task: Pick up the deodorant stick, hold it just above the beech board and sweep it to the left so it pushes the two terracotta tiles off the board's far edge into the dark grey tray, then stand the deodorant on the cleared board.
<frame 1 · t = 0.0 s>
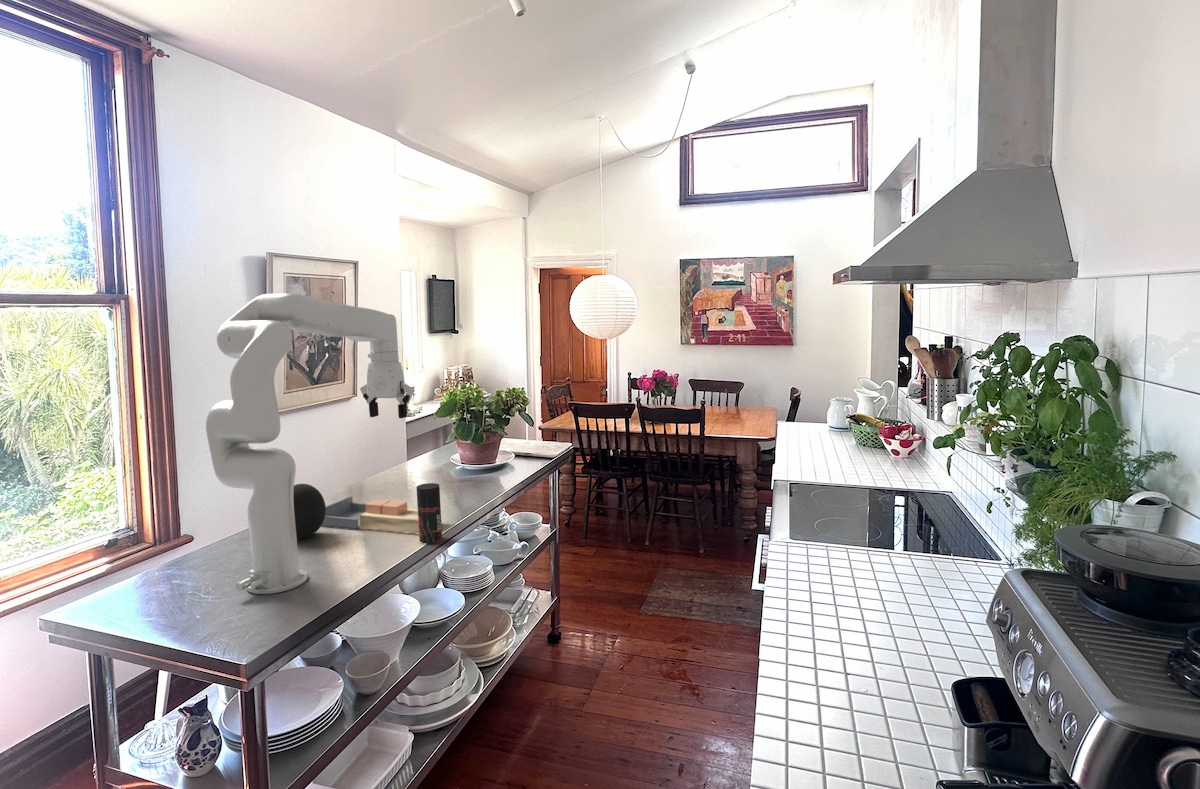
hand: (388, 417, 189), 31 cm above the table, tool pointing down, fingers open, 9 cm apart
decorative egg: (303, 537, 182), on the table
tray: (353, 520, 196), on the table
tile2: (378, 510, 191), point 4 cm above the table, touching board
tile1: (394, 512, 190), point 4 cm above the table, touching board
board: (400, 526, 190), on the table
deodorant: (431, 540, 177), on the table
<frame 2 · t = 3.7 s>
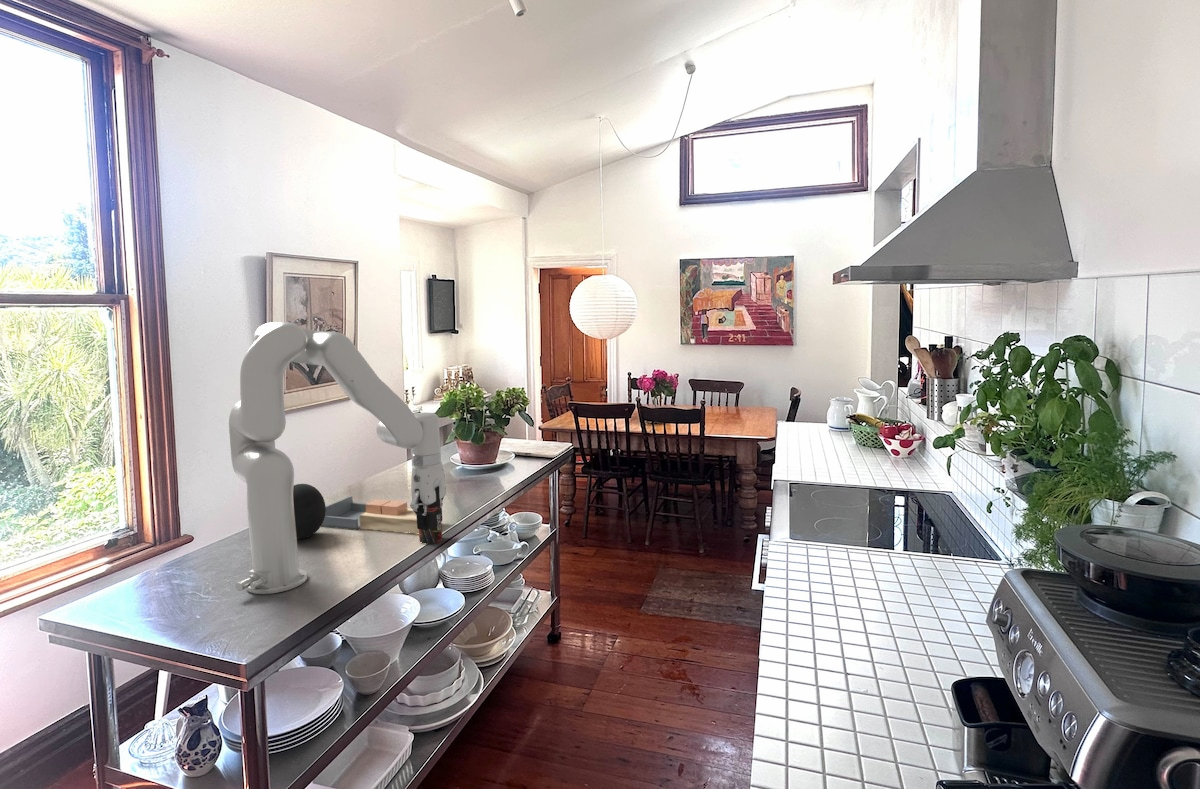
hand: (430, 524, 177), 4 cm above the table, tool pointing down, fingers closed on deodorant, 5 cm apart
deodorant: (431, 540, 177), on the table, touching gripper
everything else where it was.
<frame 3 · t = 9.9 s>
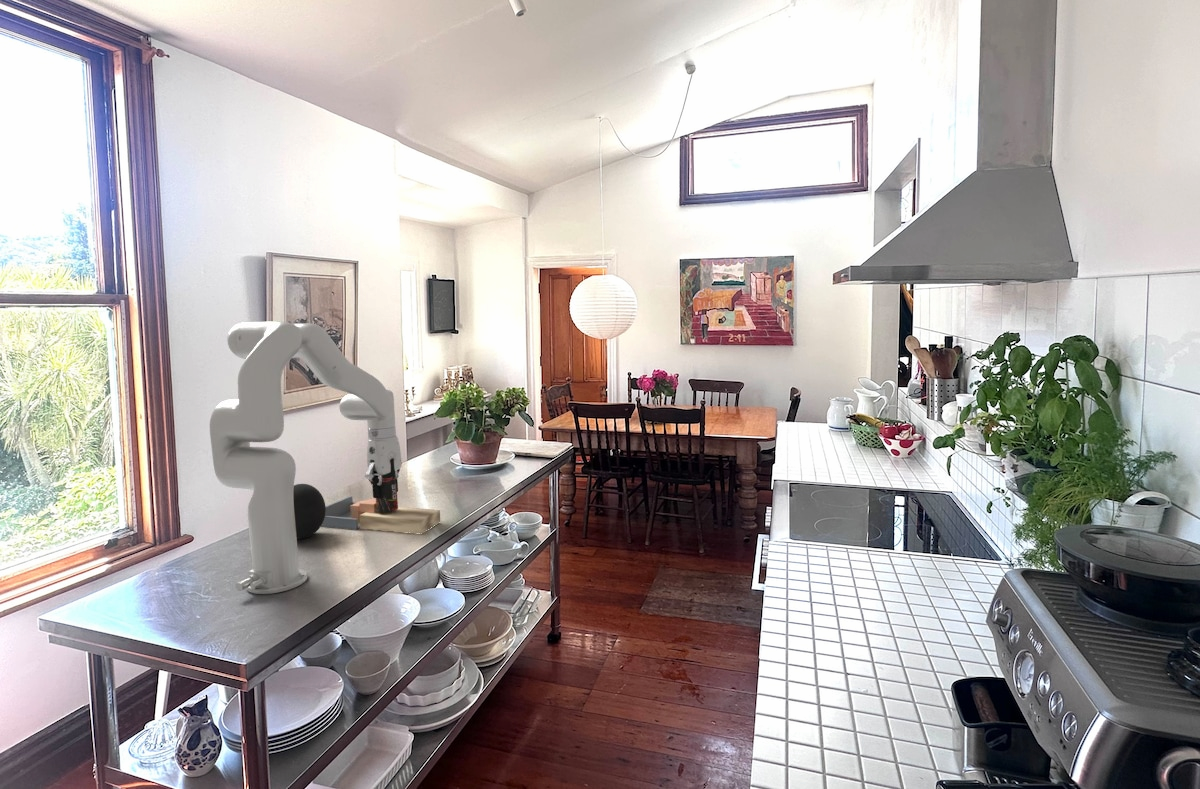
hand: (385, 494, 189), 9 cm above the table, tool pointing down, fingers closed on deodorant, 5 cm apart
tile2: (363, 511, 193), point 3 cm above the table, tilted 90°, touching tray
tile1: (372, 509, 192), point 4 cm above the table
deodorant: (387, 509, 190), point 5 cm above the table, touching gripper
everything else where it was.
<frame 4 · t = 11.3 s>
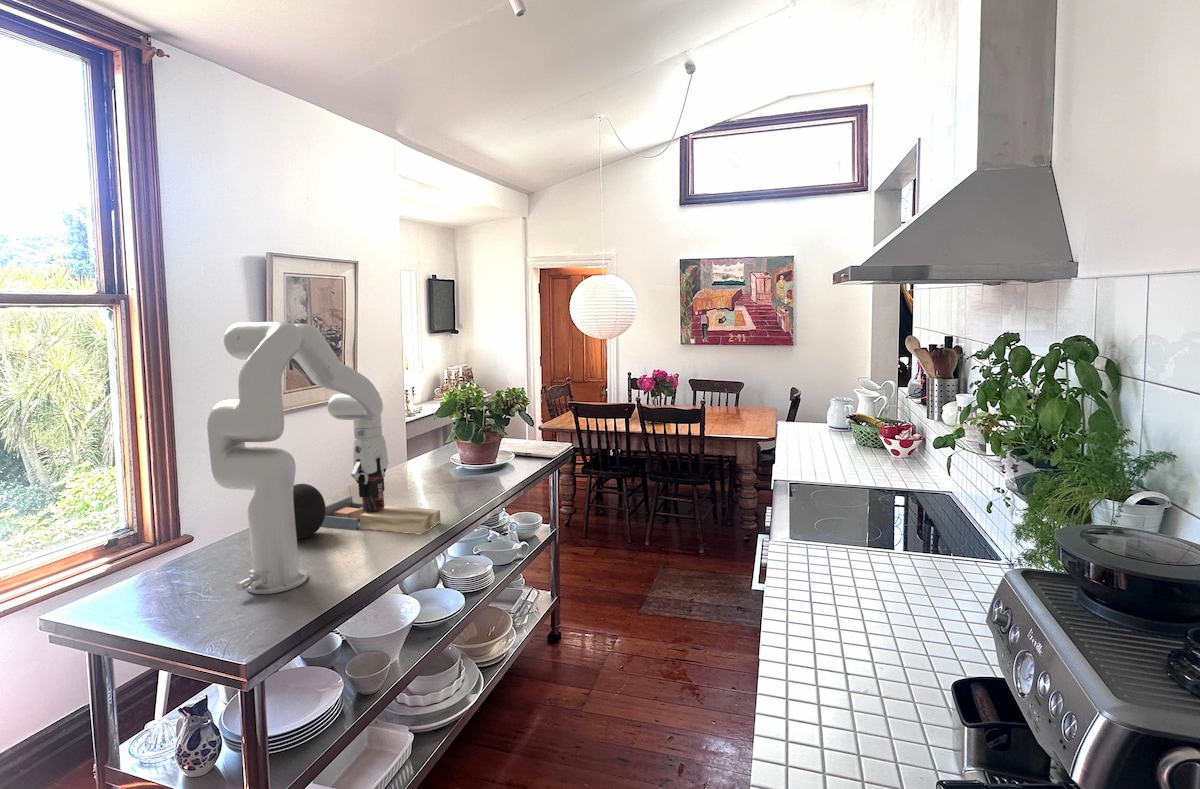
hand: (372, 493, 191), 9 cm above the table, tool pointing down, fingers closed on deodorant, 5 cm apart
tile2: (346, 510, 195), point 3 cm above the table, tilted 180°, touching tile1, tray
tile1: (363, 516, 194), point 2 cm above the table, tilted 19°, touching deodorant, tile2
deodorant: (373, 508, 191), point 5 cm above the table, touching gripper, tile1
everything else where it was.
when the fingers open (9 cm above the table, at t = 13.4 s): deodorant stays where it is, resting on board.
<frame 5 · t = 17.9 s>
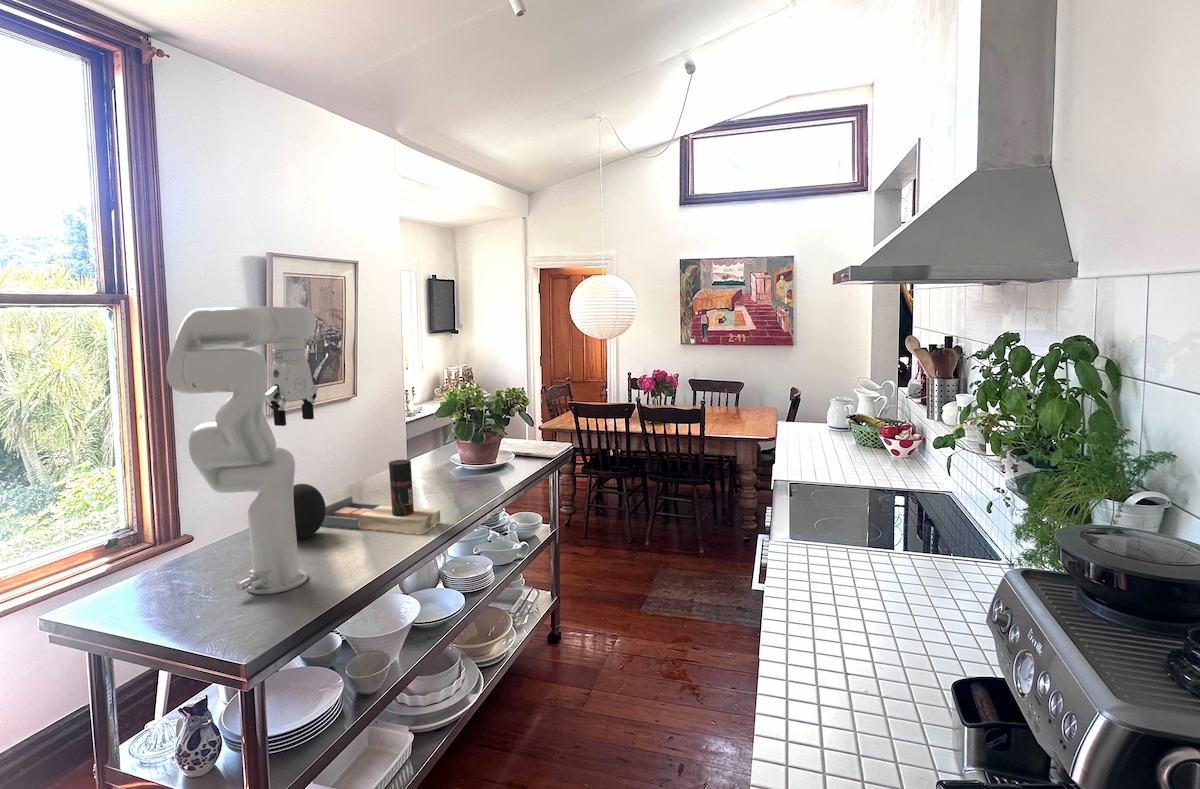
hand: (294, 422, 171), 33 cm above the table, tool pointing down, fingers open, 9 cm apart
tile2: (346, 510, 195), point 3 cm above the table, tilted 180°, touching tray
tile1: (364, 519, 194), point 1 cm above the table, touching tray
deodorant: (403, 513, 188), point 4 cm above the table, touching board
everything else where it was.
at the end: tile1 inside the target area on the tray (3.6 cm from its centre), point 0.6 cm above the tray's base; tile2 inside the target area on the tray (2.2 cm from its centre), point 3.1 cm above the tray's base; deodorant tilted 0° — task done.
